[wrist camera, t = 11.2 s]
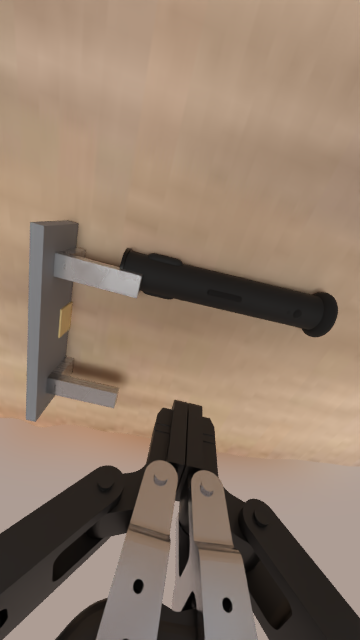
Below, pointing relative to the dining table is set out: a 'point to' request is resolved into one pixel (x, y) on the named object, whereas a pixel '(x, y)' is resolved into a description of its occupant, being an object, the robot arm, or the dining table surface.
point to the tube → (232, 293)
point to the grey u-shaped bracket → (100, 276)
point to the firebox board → (47, 309)
